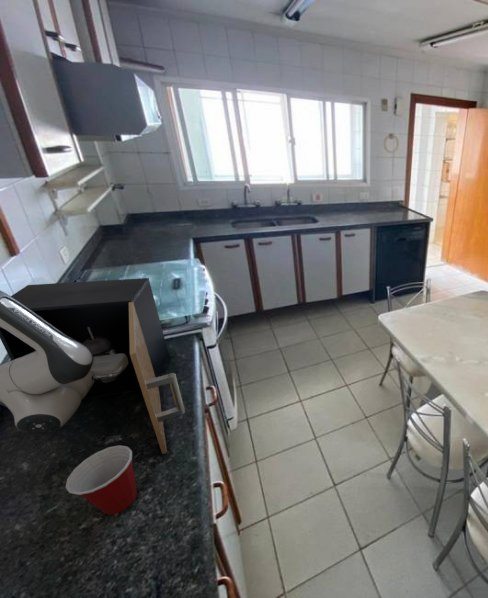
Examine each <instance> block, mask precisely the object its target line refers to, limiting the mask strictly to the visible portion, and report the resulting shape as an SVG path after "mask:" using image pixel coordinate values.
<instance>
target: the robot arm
mask: <svg viewBox="0 0 488 598" xmlns="http://www.w3.org/2000/svg"><path fill="white" fill-rule="evenodd" d="M11 296H12V295H9V294H8V293H7V292H4V291H2V290H0V327H2V328H4V329H6V330H7V331H9V332H10V333H12V334H13V335H15V336H16V337H18V338H19V339H21V340H22V341H24V342H25V343H27V344H28V345H30V346H31V347H33V348H34V349H35V350H36V351H35V352H32V353H30V354H27V355H25V356H23V357H20V358H17V359H14V360H12V361H11V360H9V361H8V362H5V363H2V364H0V405H1V406H3V407H5V408H7V409H8V410H9V411H10V413H11V414H12V416H13V419H14V426H15V428H16V429H17V430H18V431H20V432H21V433H23V434H27V435H34V436H35V435H36V436H37V435H38V436H39V435H45V434H50V433H52V432H56V431H57V430H59V429H61V428H62V427H63V426H64V425H66V424H67V422H69V420H70V419H71V418H72V417H73V416H74V414H75V413H76V412H77V410H78V409H79V407H80V405H81V403H82V401H81V400H82V399H83V398H84V397H85V396H86V395H87V393H88V392H89V390H90V389H91V387H92V386H93V384H94V382H95V380H99V379H106V378H112V377H115V376H118V375H119V374H120V373H121V372H122V371H123V370H124V369H125V368H126V367H127V365H128V363H129V362H128V358H127V356H126V355H125V354H124V353H120V354H115V350H114V349H111V350H107V352H106V354H107V355H105V356H97V357H93V354H92V352H91V351H90V350H89V348H87V347H86V346H85V345H83V344H82V343H80V342H78V341H76V340H74V339H72V338H70V337H68V336H67V335H65V334H63V333H62V332H61V331H59V330H58V329H56V328H55V327H54V326H52V325H51V324H49V323H48V322H47V321H45V320H44V319H42V318H41V317H40V316H38V315H37V314H36V313H34V312H33V311H31V310H30V309H29V308H27V307H26V306H24V305H23V304H21V303H20V302H19V301H17V300H16V299H14V298H13V297H11Z"/></svg>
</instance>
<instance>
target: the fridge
mask: <svg viewBox="0 0 488 598" xmlns="http://www.w3.org/2000/svg"><path fill="white" fill-rule="evenodd" d="M10 296H11V297H13V298H14V299H16V300H17V301H19V302H20V303H21V304H23V305H24V306H26V307H27V308H29V309H30V310H31V311H33V312H34V313H36V314H37V315H38V316H40V317H41V318H42V319H44V320H45V321H47V322H48V323H49V324H51V325H52V326H54V327H55V328H56V329H58V330H59V331H61V332H62V333H63V334H65V335H67V336H68V337H70V338H72V339H74V340H76V341H78V342H80V343H82V344H83V343H84V342H85V341H86V340H87V339H88V338H91V335H90V333H89V331H88V328H87V327H90V330H91V332H92V334H93V337H95V336H100V337H104V338H106V339H108V340H109V342H110V343H111V344H112V348H113V349H114V350H115V354H120V353H124V354H125V355H126V356H127V358H128V362H129V363H128V365H127V367H126V368H125V369H124V370H123V371H122V372H121V373H120V374H119V377H118V378H117V379H116V380H114V381H111V382H107V383H104V382H102V380H101V379H99V380H95V382H94V384H93V386H92V387H91V389H90V390H89V392H88V393H87V395H86V396H85V397H84V398H83V399H82V400H81V402H85V401H89V400H94V399H100V398H104V397H109V396H115V395H119V394H125V393H130V392H135V391H137V389H138V388H137V381H136V372H135V369H134V366H133V363H132V360H131V357H130V341H129V302H133V303H134V307H135V310H136V313H137V317H138V320H139V323H140V327H141V330H142V334H143V337H144V340H145V344H146V347H147V350H148V354H149V357H150V361H151V364H152V367H153V371H154V374H155V377H156V378H157V377H160V376H163V375H162V374H163V372H164V370H165V366H166V364H167V361H168V360H169V357H170V352H169V349H168V346H167V342H166V338H165V334H164V330H163V327H162V323H161V320H160V315H159V312H158V308H157V305H156V304H157V303H156V301H155V297H154V293H153V289H152V286H151V282H150V278H149V277H142V278H123V279H107V280H106V279H105V280H90V281H89V280H87V281H72V282H56V283H55V282H54V283H39V284H27V285H26V286H24V287H23V288H21V289H20V290H18V291H17V292H15V293H13V294H12V295H10ZM0 342H1V343H2V346H3V347H4V349H5V351H6V353H7V355H8V357H9V359H10V361H12V360H14V359H17V358H20V357H23V356H25V355H27V354H30V353H32V352H35V351H36V350H35V349H34V348H33V347H31V346H30V345H28V344H27V343H25V342H24V341H22V340H21V339H19V338H18V337H16V336H15V335H13V334H12V333H10V332H9V331H7V330H6V329H4V328H2V327H0Z"/></svg>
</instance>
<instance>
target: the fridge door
mask: <svg viewBox="0 0 488 598" xmlns="http://www.w3.org/2000/svg"><path fill="white" fill-rule="evenodd" d="M129 341H130V357H131V360H132V363H133V366H134V373H135V376H136V378H137V381H138V384H139V387H140V390H141V394H142V396H143V400H144V403H145V406H146V409H147V412H148V415H149V418H150V421H151V424H152V427H153V430H154V433H155V436H156V439H157V443H158V445H159V449H160V451H161V454H162V455H165V454H166V452H167V453H168V450H167V442H166V434H165V427H164V421H167V420H170V419H172V418H176V417H179V416H181V415H184V414H185V413H186V409H185V405H184V401H183V397H182V393H181V390H180V387H179V382H178V379H177V375H176V373H174V372H172V373H167V374H164V375H161V376H160V377H157V378H156V377H155V374H154V371H153V367H152V364H151V361H150V357H149V354H148V350H147V347H146V344H145V340H144V337H143V334H142V330H141V327H140V323H139V320H138V317H137V313H136V310H135V307H134V303H133V302H129ZM168 384H169V387H170V391H171V394H172V397H173V401H174V404H175V407H173V408H170V409H167V410H164V411H162V404H161V396H160V388H159V387H161V386H165V385H168Z"/></svg>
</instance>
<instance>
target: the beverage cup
mask: <svg viewBox="0 0 488 598" xmlns="http://www.w3.org/2000/svg"><path fill="white" fill-rule="evenodd" d="M87 328H88V331H89V333H90V335H91V338H88V339H87V340H86V341H85V342H84V343H83V345H85V346H86V347H87V348H89V350H90V351H91V352H92V354H93V357H97V356H105V355H107V354H106V352H107V350H111V349H113V348H112V344H111V343H110V342H109V340H108V339H106V338H104V337H100V336H95V337H93V334H92V332H91V330H90V327H87ZM118 377H119V375H118V376H115V377H112V378H106V379H101V380H102V382H104V383H107V382H111V381H114V380H116V379H117V378H118Z"/></svg>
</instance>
